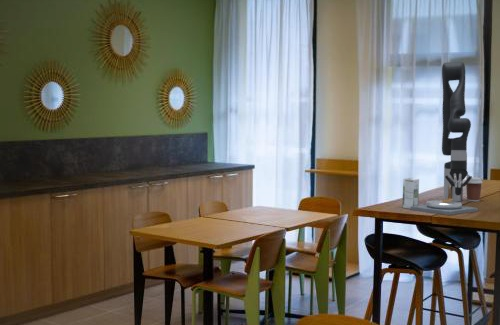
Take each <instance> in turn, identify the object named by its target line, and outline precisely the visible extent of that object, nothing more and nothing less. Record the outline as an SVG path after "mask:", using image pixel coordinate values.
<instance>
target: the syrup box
mask: <svg viewBox="0 0 500 325" xmlns="http://www.w3.org/2000/svg"><path fill="white" fill-rule="evenodd" d="M402 183H403V184H402V208H403V209H410V207H411V206H419V193H420V191H419V190H420V179H419V178H415V177H407V178H403V181H402Z"/></svg>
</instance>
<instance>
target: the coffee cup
mask: <svg viewBox="0 0 500 325" xmlns="http://www.w3.org/2000/svg"><path fill="white" fill-rule="evenodd" d="M483 183H484V181H482V179H481V178H480V177H472V179H471V180H470V181H469V182H468V183H467V185H466V186H465V187H466V200H468V202H481V192H482V191H481V190H482V185H483Z"/></svg>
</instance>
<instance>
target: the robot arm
mask: <svg viewBox="0 0 500 325" xmlns="http://www.w3.org/2000/svg"><path fill="white" fill-rule="evenodd" d="M441 77H442V78H441V80H442V139H441V153H442V155H443V156H450V161H447V162H445V163H444V166H443V172H444V173H443V200H445V199H447V198H448V186H452V200H451V201H456V202H462V201H463V200H464V199H463V197H464V196H463V194H464V193H463V192H464V190H463V189H464V187H466V185H467V183H468V182H469V181H470V180H471V179H472V178H473V176H472V175H470V174H469V172H468V152H467V146H468V145H467V142H468V138H469V133H470V130H471V128H472V127H471V126H472V123H471V120H470V119H469V118H467V117H463V116H465V114H466V112H467V111H466V102H465V96H466V95H465V92H466V66H465V63H464V61H452V62H448V61H447V62H443V64H442V67H441ZM451 81H453V82H454V81H458V84H457V86H456V88H455V89H454V91H453V89H452V88H451V85H450V82H451ZM451 133H452V134H454V133H455V134H460V133H461V136H459V137H453V138H452V137H451V138H449V137H450V135H451ZM464 180H465V181H464Z"/></svg>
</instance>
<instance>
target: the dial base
mask: <svg viewBox="0 0 500 325" xmlns="http://www.w3.org/2000/svg"><path fill="white" fill-rule="evenodd" d="M410 211H417V212H425V213H432V214H440V215H446V216H447V215H448V216H454V215H460V214H465V213H467V214H468V213H474V212H478V211H479V208H478V207H472V206H466V205H464V206H463V205H462V208H458V209H439V208H430V207H427V204H421V205H418V206H411V207H410Z"/></svg>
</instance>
